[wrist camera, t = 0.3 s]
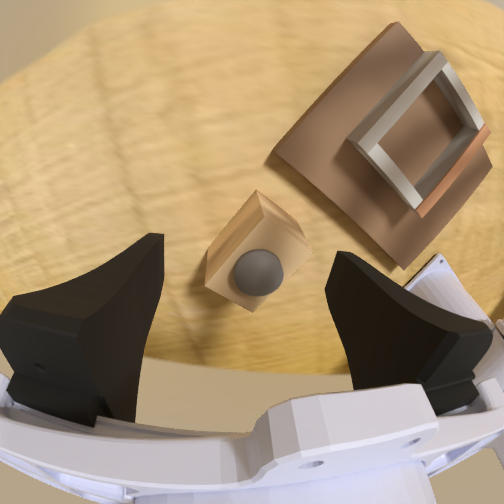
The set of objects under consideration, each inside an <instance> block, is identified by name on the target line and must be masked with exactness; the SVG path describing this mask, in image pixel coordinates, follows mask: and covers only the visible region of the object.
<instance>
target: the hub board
mask: <svg viewBox="0 0 504 504" xmlns="http://www.w3.org/2000/svg"><path fill="white" fill-rule="evenodd" d="M489 135H490V131H489V129H488V126H487V124H486V123H484V121H483V119H482V117H481V115H480V113H479V112H478V110H477V108H476V106H475V104H474V102H473V101H472V99H471V97H470V95H469V94H468V92H467V90H466V89H465V87H464V85H463V84H462V82H461V81H460V79H459V77H458V76H457V74H456V73H455V71H454V70H453V68H452V67H451V65H450V64H449V62H448V61H447V60H446V58H445V57H444V55H443V54H442V53H441V51H427V52H424V51H423V50H422V48H421V47H420V46H419V45H418V43H417V42H416V41H415V40H414V39H413V37H412V36H411V35H410V34H409V33H408V32H407V31H406V29H405V28H404V27H403V26H402V25H401V24H400V23H399V22H395V23H391V24H390V25H388V26H387V27H386V28H385V29H384V30H383V31H382V32H381V33H380V34H379V35H378V36H377V37H376V38H375V39H374V40H373V41H372V42H371V43H370V44H369V45H368V46H367V47H366V48H365V49H364V50H363V51H362V52H361V53H360V54H359V55H358V56H357V57H356V58H355V59H354V60H353V62H352V63H351V64H350V65H349V66H348V67H347V68H346V69H345V70H344V71H343V72H342V73H341V74H340V75H339V76H338V77H337V78H336V79H335V80H334V81H333V83H332V84H331V85H330V86H329V87H328V88H327V89H326V90H325V91H324V92H323V93H322V94H321V95H320V97H319V98H318V99H317V100H316V101H315V102H314V103H313V104H312V105H311V106H310V108H309V109H308V110H307V111H306V112H305V113H304V114H303V115H302V116H301V118H300V119H299V120H298V121H297V122H296V123H295V124H294V125H293V127H292V128H291V129H290V130H289V131H288V132H287V133H286V135H285V136H284V137H283V138H282V139H281V140H280V141H279V143H278V144H277V145H276V146H275V147H274V148H273V151H274V152H275V153H276V154H277V155H279V156H280V157H281V158H282V159H283V160H285V161H286V162H287V163H288V164H290V165H291V166H292V167H293V168H294V169H296V170H297V171H298V172H299V173H300V174H302V175H303V176H304V177H305V178H306V179H308V180H309V181H310V182H311V183H312V184H313V185H315V186H316V187H317V188H318V189H319V190H320V191H321V192H323V193H324V194H325V195H326V196H327V197H328V198H329V199H330V200H332V201H333V202H334V203H335V204H336V205H337V206H338V207H339V208H340V209H342V210H343V211H344V212H345V213H346V214H347V215H348V216H349V217H350V218H351V219H352V220H353V221H355V222H356V223H357V224H358V225H359V226H360V227H361V228H362V229H363V230H364V231H365V232H366V233H367V234H368V235H369V236H370V237H371V238H372V239H373V240H374V241H375V242H376V243H377V244H378V245H379V246H380V247H381V248H382V249H383V250H384V251H385V252H386V253H387V254H388V255H389V256H390V257H391V258H392V259H393V260H394V261H395V262H396V263H397V264H398V265H399V266H400V267H401V268H402V269H403V270H405V269H406V268H407V267H408V266H409V265H410V264H411V263H412V262H413V261H414V260H415V259H416V257H417V256H418V255H419V254H420V253H421V252H422V251H423V250H424V249H425V248H426V247H427V246H428V245H429V244H430V243H431V241H432V240H433V239H434V238H435V237H436V236H437V235H438V234H439V233H440V232H441V230H442V229H443V228H444V227H445V226H446V225H447V224H448V222H449V221H450V220H451V219H452V218H453V217H454V215H455V214H456V213H457V212H458V211H459V209H460V208H461V207H462V206H463V205H464V203H465V202H466V201H467V200H468V198H469V197H470V196H471V195H472V193H473V192H474V191H475V190H476V188H477V187H478V186H479V184H480V183H481V182H482V180H483V179H484V178H485V176H486V175H487V174H488V172H489V171H490V170H491V168H492V164H491V162H490V160H489V157H488V155H487V153H486V151H485V149H484V147H483V145H482V144H483V143H484V142H485V140H486V139H487V137H488V136H489Z"/></svg>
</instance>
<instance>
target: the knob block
mask: <svg viewBox="0 0 504 504" xmlns="http://www.w3.org/2000/svg"><path fill="white" fill-rule="evenodd" d="M312 253H313V252H312V250H311V248H310V246H309V244H308V242H307V240H306V238H305V236H304V234H303V232H302V230H301V228H300V226H299V224H298V222H297V220H296V219H295V218H293V217H292V216H291V215H289V214H288V213H287V212H286V211H284V210H283V209H282V208H280V207H279V206H278V205H276V204H275V203H274V202H272V201H271V200H270V199H268V198H267V197H266V196H264V195H263V194H262V193H260V192H259V191H258V190H255V192H254V193H253V194H252V195H251V196H250V198H249V199H248V200H247V201H246V202H245V204H244V205H243V206H242V207H241V208H240V210H239V211H238V212H237V213H236V214H235V216H234V217H233V218H232V219H231V220H230V222H229V223H228V224H227V225H226V227H225V228H224V229H223V230H222V231H221V233H220V234H219V235H218V236H217V238H216V239H215V240H214V241H213V242H212V244H211V245H210V246H209V247H208V254H207V264H206V274H205V285H204V286H206V287H207V288H209V289H211V290H213V291H214V292H216V293H218V294H220V295H221V296H223V297H225V298H227V299H229V300H230V301H232V302H234V303H236V304H238V305H239V306H241V307H243V308H245V309H247V310H249V311H250V312H252V313H253V312H254V311H255V310H256V309H257V308H258V307H259V306H260V305H261V304H262V303H263V302H264V301H265V300H266V299H267V298H268V297H269V296H270V295H271V294H272V293H273V292H274V291H275V290H276V289H278V287H279V286H280V285H281V284H282V283H283V282H284V281H285V280H287V279H288V278H289V277H290V276H291V275H292V274H293V272H294V271H295V270H296V269H297V268H298V267H299V266H300V265H301V264H302V263H303V262H304V261H305V260H306V259H307V258H308V257H309V256H310V255H311V254H312Z"/></svg>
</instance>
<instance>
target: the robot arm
mask: <svg viewBox="0 0 504 504" xmlns="http://www.w3.org/2000/svg"><path fill="white" fill-rule="evenodd" d="M440 260H441V261H440ZM163 281H164V234H158V233H148V234H147V235H145V236H144V237H142V238H141V239H140V240H138V241H137V242H135V243H134V244H133V245H131V246H130V247H129V248H127V249H126V250H124V251H123V252H122V253H120V254H118V255H117V256H115V257H114V258H112V259H111V260H109V261H108V262H106V263H104V264H103V265H101V266H99V267H97V268H96V269H94V270H92V271H90V272H88V273H86V274H84V275H81V276H79V277H77V278H74V279H72V280H69V281H67V282H65V283H62V284H59V285H56V286H53V287H50V288H46V289H43V290H39V291H35V292H31V293H26V294H21V295H16V296H13V297H12V299H11V300H10V302H9V303H8V304H7V306H6V307H5V309H4V310H3V311H2V313H1V314H0V349H1V350H2V352H3V354H4V356H5V357H6V359H7V361H8V362H9V364H10V366H11V367H12V369H13V370H14V374H13V376H12V378H11V380H10V378H8V377H7V376H6V375H5V374H3V373H1V372H0V461H2V462H4V463H6V464H7V465H10V466H11V467H13V468H15V469H17V470H19V471H21V472H23V473H25V474H27V475H29V476H31V477H33V478H35V479H38V480H40V481H42V482H44V483H47V484H49V485H51V486H54V487H56V488H58V489H61V490H63V491H66V492H68V493H71V494H74V495H77V496H79V497H82V498H85V499H88V500H91V501H94V502H98V503H101V504H437V503H436V500H435V496H434V493H433V490H432V487H431V484H430V481H429V478H430V477H432V476H434V475H436V474H438V473H440V472H442V471H444V470H446V469H448V468H450V467H452V466H454V465H455V464H457V463H459V462H461V461H463V460H464V459H466V458H468V457H470V456H472V455H473V454H475V453H477V452H478V451H480V450H482V449H483V448H492V449H494V451H495V453H496V455H497V457H498V459H499V461H500V463H501V465H502V467H503V469H504V319H502V320H501V319H498V320H497V321H496V324H494V323H493V322H492V321H491V320H490V319H489V318H488V316H487V315H486V314H485V313H484V311H483V310H482V309H481V308H480V307H479V305H478V304H477V303H476V302H475V301H474V299H473V298H472V297H471V296H470V295H469V294H468V293H467V291H466V290H465V289H464V288H463V286H462V285H461V283H460V281H459V280H458V278H457V277H456V275H455V273H454V272H453V270H452V269H451V267H450V266H449V264H448V263H447V261H446V260H445V258H444V257H443V256H442V255H441V254H440V253H438V254H437V255H436V256H435V257H434V258H433V259H432V260H431V261H430V262H429V263H428V264H427V265H426V266H425V267H424V268H423V269H422V270H421V271H420V272H419V273H418V274H417V275H416V276H415V277H414V278H413V279H412V280H411V281H410V282H409V283H408V284H407V285H406V286H405V287H404V288H403V287H401V286H400V285H398V284H397V283H395V282H394V281H392V280H391V279H389V278H388V277H387V276H385V275H384V274H382V273H381V272H380V271H378V270H377V269H375V268H374V267H373V266H371V265H370V264H368V263H367V262H366V261H364V260H363V259H361V258H360V257H358V256H356V255H355V254H353V253H351V252H345V251H337V254H336V257H335V260H334V263H333V266H332V269H331V272H330V275H329V278H328V281H327V284H326V287H325V294H326V298H327V303H328V307H329V310H330V313H331V315H332V318H333V321H334V323H335V326H336V328H337V331H338V333H339V336H340V339H341V341H342V344H343V346H344V349H345V352H346V356H347V359H348V364H349V368H350V373H351V378H352V383H353V389H354V390H353V391H343V392H332V393H318V394H311V395H306V396H300V397H295V398H290V399H288V400H285V401H283V402H281V403H278V404H276V405H274V406H271V407H270V408H269V409H268V410H267V411H266V412H265V413H264V414H263V415H262V416H261V417H260V418H259V419H258V420H257V421H256V424H255V427H254V429H253V431H252V432H245V433H231V432H228V433H227V432H206V431H193V430H182V429H173V428H172V429H171V428H164V427H157V426H150V425H143V424H137V423H135V417H136V404H137V394H138V385H139V378H140V370H141V365H142V359H143V353H144V348H145V344H146V340H147V336H148V333H149V330H150V327H151V324H152V321H153V318H154V315H155V312H156V309H157V306H158V303H159V299H160V296H161V291H162V286H163Z"/></svg>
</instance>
